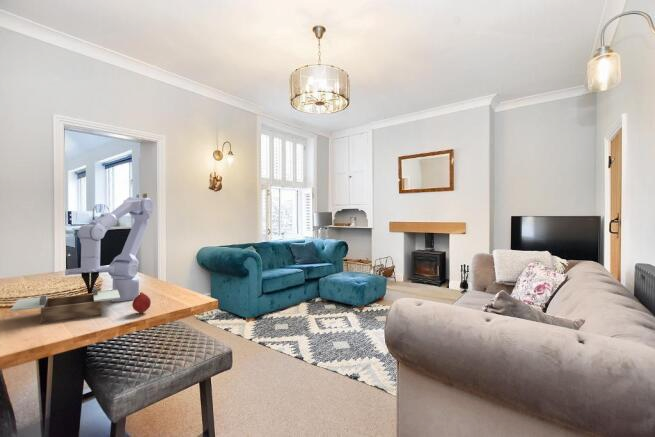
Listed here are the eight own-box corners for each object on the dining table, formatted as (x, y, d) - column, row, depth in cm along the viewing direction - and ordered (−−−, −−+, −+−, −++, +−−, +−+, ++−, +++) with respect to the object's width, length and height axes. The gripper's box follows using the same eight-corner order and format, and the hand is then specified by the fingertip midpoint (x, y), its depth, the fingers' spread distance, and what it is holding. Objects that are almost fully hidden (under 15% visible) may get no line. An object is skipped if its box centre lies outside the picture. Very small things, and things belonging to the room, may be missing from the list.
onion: (137, 310, 119) (137, 289, 119) (153, 311, 120) (153, 290, 120) (129, 316, 114) (129, 293, 113) (145, 316, 114) (146, 294, 114)
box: (99, 305, 123) (99, 293, 123) (100, 315, 113) (101, 301, 113) (44, 312, 114) (45, 298, 114) (40, 323, 103) (41, 308, 103)
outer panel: (47, 297, 114) (47, 290, 114) (44, 307, 104) (44, 299, 104) (17, 301, 109) (17, 293, 109) (10, 311, 99) (10, 303, 99)
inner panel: (117, 290, 127) (117, 284, 127) (120, 298, 116) (120, 291, 116) (93, 293, 122) (93, 286, 122) (93, 301, 112) (94, 294, 112)
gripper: (64, 259, 111) (64, 297, 111) (114, 256, 119) (114, 292, 120) (65, 256, 116) (65, 293, 117) (113, 254, 125) (112, 288, 125)
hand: (89, 292), depth 119 cm, fingers closed
